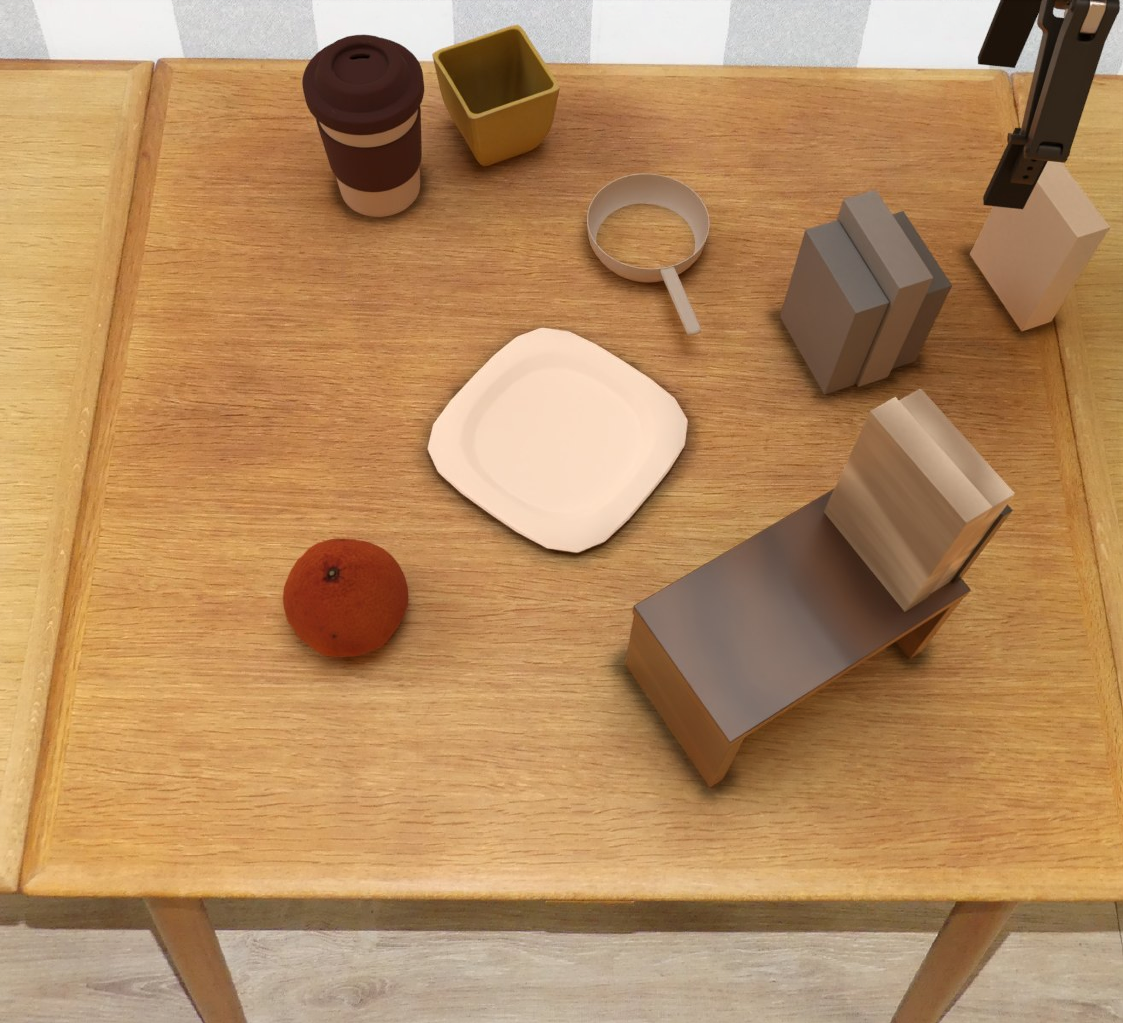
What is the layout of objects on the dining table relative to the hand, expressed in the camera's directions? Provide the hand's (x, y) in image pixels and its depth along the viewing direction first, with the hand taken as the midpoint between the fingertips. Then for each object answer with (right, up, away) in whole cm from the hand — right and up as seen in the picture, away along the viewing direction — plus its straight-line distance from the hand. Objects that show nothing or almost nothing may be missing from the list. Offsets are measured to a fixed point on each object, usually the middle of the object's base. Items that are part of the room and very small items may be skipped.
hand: (999, 130), depth 87 cm
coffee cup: (-48, +2, +25) cm, 54 cm away
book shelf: (-15, -38, +5) cm, 42 cm away
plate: (-32, -22, +13) cm, 41 cm away
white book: (+8, -8, +21) cm, 24 cm away
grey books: (-7, -13, +18) cm, 23 cm away
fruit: (-47, -35, +6) cm, 59 cm away
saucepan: (-23, -6, +21) cm, 32 cm away
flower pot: (-37, +7, +28) cm, 47 cm away
